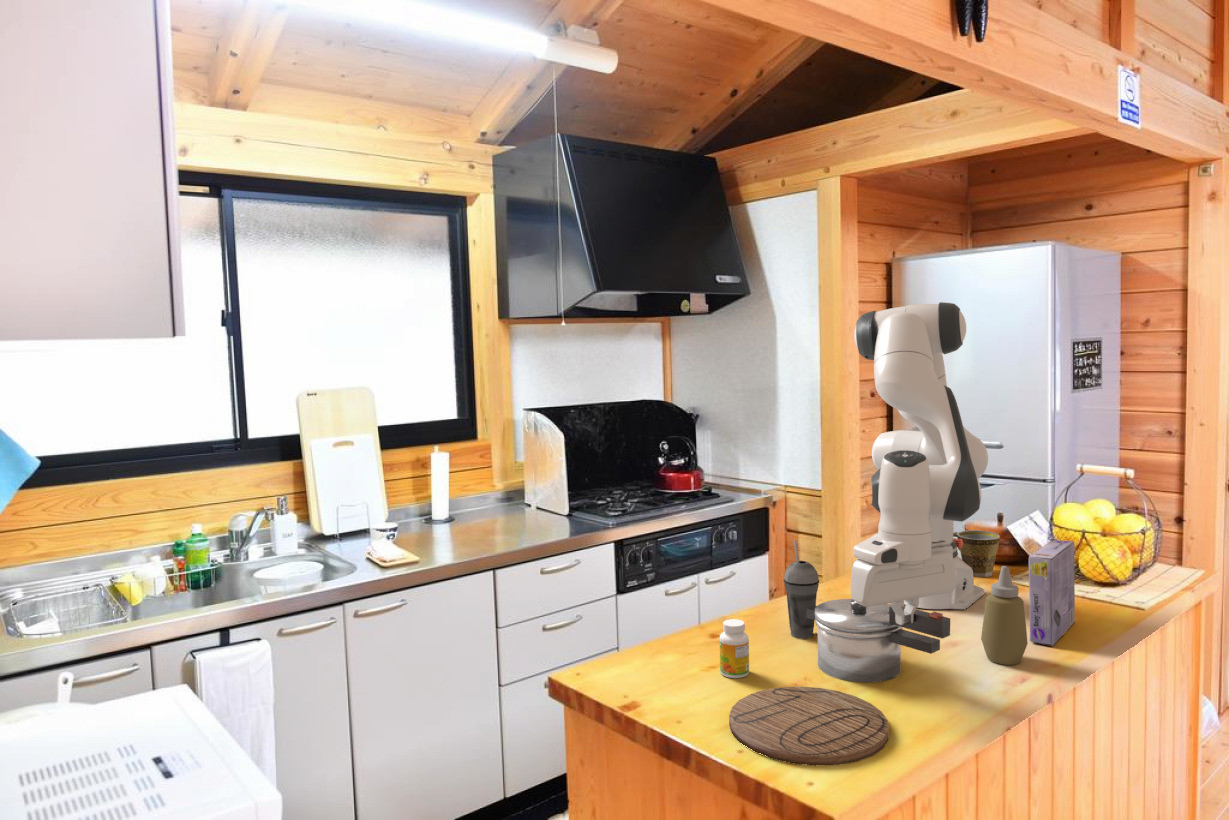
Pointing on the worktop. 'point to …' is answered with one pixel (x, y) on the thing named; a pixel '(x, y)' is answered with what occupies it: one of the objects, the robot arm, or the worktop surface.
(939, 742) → the worktop surface
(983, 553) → the ceramic cup
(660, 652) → the worktop surface
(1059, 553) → the cake pan box
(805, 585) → the beverage cup
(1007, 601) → the squeeze bottle
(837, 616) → the lid
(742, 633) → the supplement bottle
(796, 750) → the trivet
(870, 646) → the pot
